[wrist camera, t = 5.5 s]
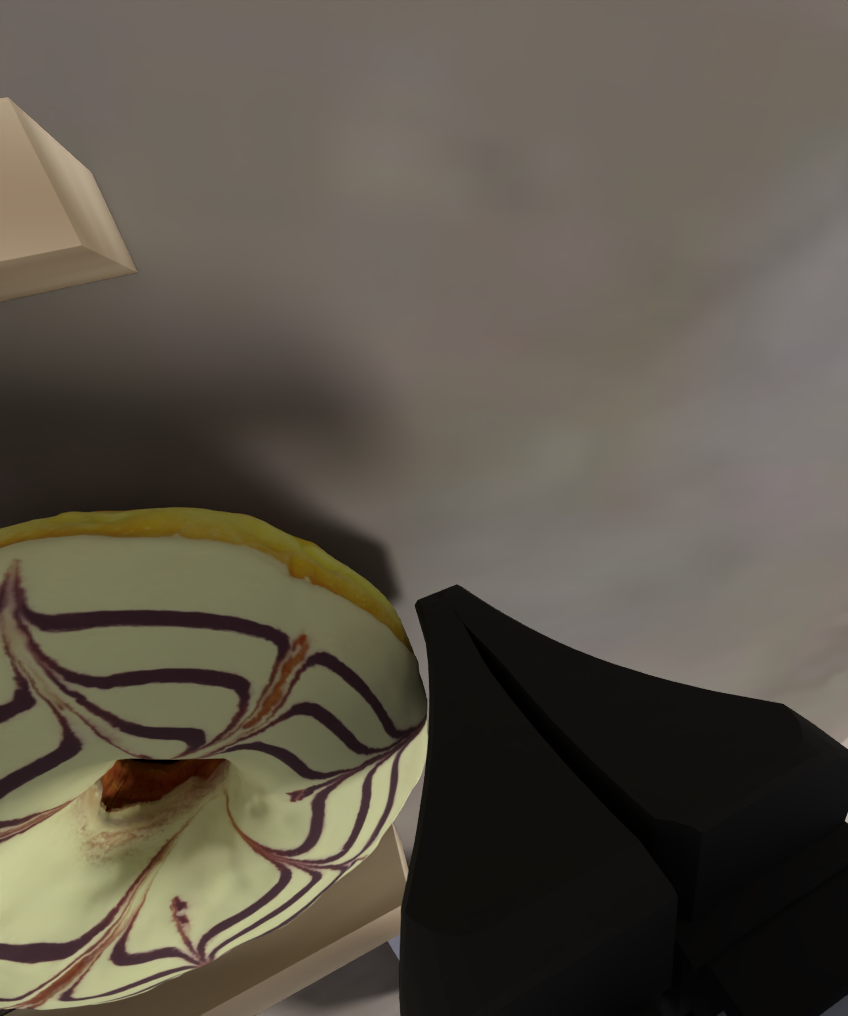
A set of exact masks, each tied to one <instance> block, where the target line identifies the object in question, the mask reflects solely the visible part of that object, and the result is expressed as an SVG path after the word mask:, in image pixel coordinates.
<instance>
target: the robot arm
mask: <svg viewBox="0 0 848 1016" xmlns="http://www.w3.org/2000/svg"><path fill="white" fill-rule="evenodd" d="M415 608H416V612H417V615H418V618H419V622H420V625H421V629H422V632H423V635H424V639H425V642H426V649H427V657H428V671H429V731H428V744H427V756H426V767H425V776H424V784H423V791H422V798H421V804H420V811H419V818H418V824H417V831H416V836H415V842H414V847H413V852H412V857H411V862H410V866H409V871H408V876H407V881H406V886H405V890H404V895H403V900H402V905H401V925H400V934H399V935H398V936H396V937H394V938H392V939H390V940H389V941H388V943H389V944H390V946H391V948H392V949H393V951H394V953H395V954H396V956H397V958H398V959H399V999H400V1015H401V1016H848V823H846V822H845V818H846V816H847V813H848V749H847V748H845V747H844V746H843V745H841V744H840V743H839V742H837V741H836V740H835V739H833V738H832V737H830V736H829V735H828V734H826V733H825V732H824V731H822V730H821V729H820V728H818V727H817V726H815V725H814V724H813V723H811V722H810V721H808V720H807V719H805V718H804V717H802V716H801V715H799V714H798V713H796V712H795V711H793V710H792V709H790V708H789V707H787V706H785V705H784V704H781V703H775V702H770V701H764V700H759V699H754V698H748V697H743V696H737V695H732V694H726V693H721V692H716V691H711V690H706V689H702V688H698V687H694V686H690V685H686V684H681V683H677V682H673V681H669V680H666V679H662V678H658V677H655V676H651V675H648V674H644V673H641V672H638V671H635V670H632V669H628V668H625V667H622V666H619V665H616V664H612V663H610V662H607V661H604V660H601V659H598V658H596V657H593V656H591V655H588V654H585V653H583V652H580V651H578V650H575V649H573V648H571V647H568V646H566V645H564V644H562V643H559V642H557V641H555V640H553V639H551V638H549V637H547V636H545V635H543V634H541V633H539V632H537V631H535V630H533V629H531V628H529V627H527V626H525V625H523V624H521V623H520V622H518V621H516V620H514V619H513V618H511V617H509V616H507V615H505V614H504V613H502V612H500V611H499V610H497V609H495V608H494V607H492V606H490V605H489V604H487V603H486V602H484V601H482V600H481V599H479V598H478V597H476V596H475V595H473V594H472V593H470V592H469V591H467V590H466V589H464V588H463V587H461V586H459V585H454V586H452V587H449V588H447V589H444V590H442V591H439V592H437V593H434V594H432V595H429V596H427V597H424V598H422V599H419V600H417V602H416V604H415Z"/></svg>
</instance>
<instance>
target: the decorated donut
mask: <svg viewBox="0 0 848 1016" xmlns="http://www.w3.org/2000/svg"><path fill="white" fill-rule="evenodd" d="M427 744H428V734H427V698H426V693H425V689H424V685H423V681H422V679H421V676H420V673H419V665H418V661H417V658H416V656H415V655H414V652H413V649H412V647H411V644H410V641H409V639H408V637H407V635H406V632H405V629H404V627H403V625H402V623H401V620H400V618H399V617H398V615H397V613H396V611H395V610H394V608H393V606H392V605H391V603H390V602H389V601H388V600H387V599H386V597H385V596H384V595H383V594H382V593H381V592H380V591H379V590H378V589H377V588H375V587H374V586H373V585H372V584H371V583H370V582H369V581H368V580H366V579H365V578H364V577H362V576H360V575H359V574H357V573H356V572H355V571H354V570H352V569H350V568H349V567H348V566H346V565H344V564H343V563H341V562H339V561H338V560H336V559H334V558H333V557H332V556H330V555H329V554H327V553H326V552H325V551H324V550H323V549H321V548H320V547H319V546H317V545H316V544H314V543H313V542H311V541H306V540H303V539H301V538H298V537H295V536H292V535H290V534H287V533H285V532H284V531H282V530H280V529H277V528H275V527H273V526H272V525H270V524H268V523H267V522H265V521H263V520H260V519H257V518H255V517H253V516H250V515H245V514H240V513H230V512H223V511H213V510H209V509H202V508H187V507H169V508H152V509H136V510H127V511H93V512H66V513H61V514H59V515H57V516H53V517H48V518H42V519H34V520H31V521H28V522H24V523H19V524H15V525H12V526H8V527H4V528H0V1009H35V1010H48V1009H58V1008H69V1007H78V1006H85V1005H95V1004H101V1003H107V1002H113V1001H117V1000H121V999H125V998H128V997H132V996H135V995H138V994H141V993H144V992H146V991H149V990H151V989H152V988H154V987H156V986H158V985H160V984H162V983H164V982H165V981H167V980H170V979H173V978H176V977H178V976H180V975H182V974H184V973H186V972H188V971H191V970H193V969H196V968H198V967H201V966H203V965H205V964H208V963H210V962H212V961H213V960H215V959H217V958H219V957H221V956H222V955H224V954H226V953H227V952H229V951H230V950H232V949H233V948H235V947H237V946H239V945H242V944H244V943H246V942H248V941H251V940H253V939H256V938H259V937H261V936H264V935H266V934H268V933H271V932H273V931H275V930H277V929H279V928H281V927H283V926H285V925H287V924H289V923H290V922H291V921H292V920H294V919H295V918H296V917H297V916H299V915H300V914H301V913H302V912H303V911H305V910H306V909H307V908H308V907H310V906H311V905H312V904H313V903H314V902H315V901H316V900H317V899H318V898H319V897H320V896H321V895H322V894H323V893H324V892H325V891H326V890H327V889H328V888H330V887H331V886H332V885H333V884H334V883H335V882H337V881H338V880H339V879H340V878H342V877H343V876H344V875H346V874H347V873H349V872H350V871H351V870H353V869H354V868H355V867H356V866H357V865H359V864H360V863H361V862H362V861H363V860H364V859H366V858H367V857H368V856H369V855H370V854H371V853H372V852H373V851H374V849H375V848H376V847H377V845H378V843H379V841H380V839H381V837H382V836H383V835H384V833H385V832H386V831H387V829H388V828H389V827H390V825H391V824H392V823H393V821H394V820H395V818H396V816H397V815H398V813H399V812H400V810H401V809H402V807H403V805H404V803H405V802H406V800H407V798H408V796H409V794H410V792H411V790H412V789H413V788H414V786H415V785H416V783H417V782H418V780H419V778H420V776H421V774H422V771H423V767H424V764H425V761H426V754H427ZM131 758H137V759H168V760H176V759H183V760H180V761H178V762H176V763H172V764H163V763H151V762H139V761H135V760H132V759H131Z"/></svg>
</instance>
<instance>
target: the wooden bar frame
mask: <svg viewBox="0 0 848 1016" xmlns="http://www.w3.org/2000/svg"><path fill="white" fill-rule="evenodd" d="M133 273H138V272H137V270H136V268H135V266H134V263H133V261H132V259H131V257H130V255H129V253H128V250H127V248H126V246H125V244H124V242H123V240H122V237H121V235H120V233H119V231H118V229H117V227H116V224H115V222H114V220H113V218H112V216H111V214H110V212H109V209H108V207H107V205H106V203H105V201H104V199H103V196H102V194H101V192H100V190H99V188H98V186H97V183H96V181H95V179H94V177H93V175H92V173H91V172H90V171H89V170H88V169H87V168H86V167H84V166H83V165H82V164H81V163H80V162H79V161H78V160H77V159H76V158H74V157H73V156H72V155H71V154H70V153H69V152H68V151H67V150H66V149H65V148H63V147H62V146H61V145H60V144H59V143H58V142H57V141H56V140H55V139H53V138H52V137H51V136H50V135H49V134H48V133H47V132H46V131H45V130H43V129H42V128H41V127H40V126H39V125H38V124H37V123H36V122H35V121H34V120H32V119H31V118H30V117H29V116H28V115H27V114H26V113H25V112H24V111H22V110H21V109H20V108H19V107H18V106H17V105H16V104H15V103H14V102H13V101H11V100H10V99H9V98H8V97H6V98H0V302H1V301H6V300H11V299H15V298H20V297H25V296H29V295H34V294H39V293H44V292H48V291H53V290H58V289H62V288H67V287H72V286H76V285H81V284H86V283H91V282H95V281H100V280H105V279H109V278H114V277H119V276H123V275H128V274H133ZM407 876H408V867H407V863H406V859H405V854H404V850H403V846H402V842H401V840H400V838H399V836H398V834H397V831H396V829H395V827H394V825H393V823H392V824H391V825H390V827H389V828H388V829H387V831H386V832H385V833H384V835H383V836H382V837H381V839H380V841H379V843H378V845H377V847H376V848H375V849H374V851H373V852H372V853H371V854H370V855H369V856H368V857H367V858H366V859H364V860H363V861H362V862H361V863H360V864H359V865H357V866H356V867H355V868H354V869H353V870H351V871H350V872H349V873H347V874H346V875H344V876H343V877H342V878H340V879H339V880H338V881H337V882H335V883H334V884H333V885H332V886H331V887H330V888H328V889H327V890H326V891H325V892H324V893H323V894H322V895H321V896H320V897H319V898H318V899H317V900H316V901H315V902H314V903H313V904H312V905H311V906H310V907H308V908H307V909H306V910H305V911H303V912H302V913H301V914H300V915H299V916H297V917H296V918H295V919H294V920H292V921H291V922H290V923H289V924H287V925H285V926H283V927H281V928H279V929H277V930H275V931H273V932H271V933H268V934H266V935H264V936H261V937H259V938H256V939H253V940H251V941H248V942H246V943H244V944H242V945H239V946H237V947H235V948H233V949H232V950H230V951H229V952H227V953H226V954H224V955H222V956H221V957H219V958H217V959H215V960H213V961H212V962H210V963H208V964H205V965H203V966H201V967H198V968H196V969H193V970H191V971H188V972H186V973H184V974H182V975H180V976H178V977H176V978H173V979H170V980H167V981H165V982H164V983H162V984H160V985H158V986H156V987H154V988H152V989H151V990H149V991H146V992H144V993H141V994H138V995H135V996H132V997H128V998H125V999H121V1000H117V1001H113V1002H107V1003H101V1004H95V1005H85V1006H78V1007H69V1008H58V1009H48V1010H35V1009H16V1010H14V1011H12V1012H10V1013H8V1014H6V1015H4V1016H255V1015H257V1014H259V1013H260V1012H262V1011H264V1010H266V1009H268V1008H269V1007H271V1006H273V1005H275V1004H276V1003H278V1002H280V1001H282V1000H284V999H285V998H287V997H289V996H291V995H293V994H294V993H296V992H298V991H300V990H301V989H303V988H305V987H307V986H309V985H310V984H312V983H314V982H316V981H317V980H319V979H321V978H323V977H325V976H326V975H328V974H330V973H332V972H333V971H335V970H337V969H339V968H341V967H342V966H344V965H346V964H348V963H350V962H351V961H353V960H355V959H357V958H358V957H360V956H362V955H364V954H366V953H367V952H369V951H371V950H373V949H374V948H376V947H378V946H380V945H382V944H383V943H385V942H387V941H389V940H390V939H392V938H394V937H396V936H398V935H399V934H400V925H401V905H402V900H403V895H404V890H405V886H406V881H407Z"/></svg>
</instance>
